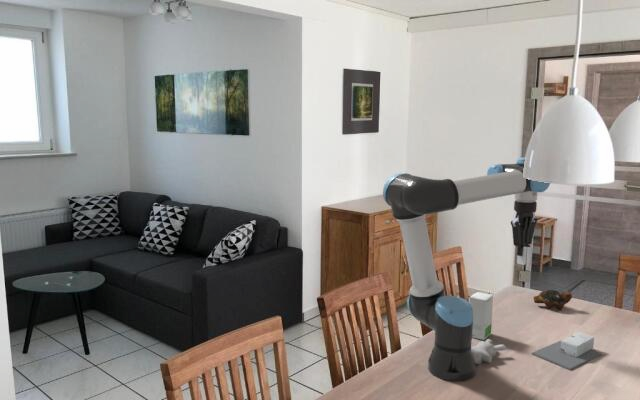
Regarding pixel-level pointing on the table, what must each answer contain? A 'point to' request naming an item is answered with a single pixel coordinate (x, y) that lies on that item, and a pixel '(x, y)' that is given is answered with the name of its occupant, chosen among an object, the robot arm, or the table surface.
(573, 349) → the skincare box
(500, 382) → the table surface
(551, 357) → the mat
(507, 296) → the table surface
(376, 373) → the table surface
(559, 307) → the decorative turtle
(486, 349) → the bunny figurine
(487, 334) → the skincare box
